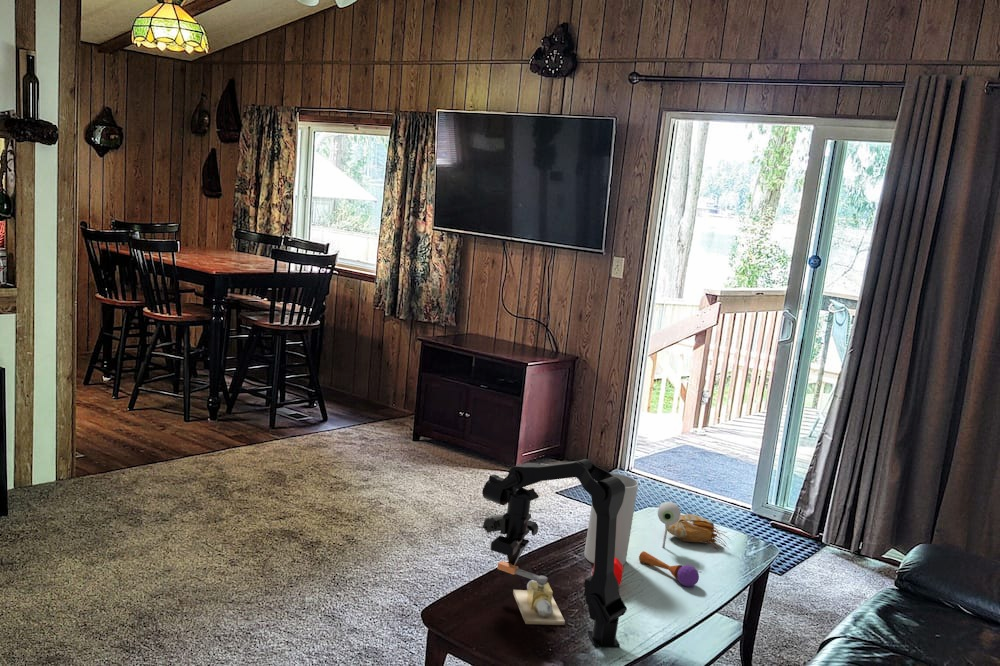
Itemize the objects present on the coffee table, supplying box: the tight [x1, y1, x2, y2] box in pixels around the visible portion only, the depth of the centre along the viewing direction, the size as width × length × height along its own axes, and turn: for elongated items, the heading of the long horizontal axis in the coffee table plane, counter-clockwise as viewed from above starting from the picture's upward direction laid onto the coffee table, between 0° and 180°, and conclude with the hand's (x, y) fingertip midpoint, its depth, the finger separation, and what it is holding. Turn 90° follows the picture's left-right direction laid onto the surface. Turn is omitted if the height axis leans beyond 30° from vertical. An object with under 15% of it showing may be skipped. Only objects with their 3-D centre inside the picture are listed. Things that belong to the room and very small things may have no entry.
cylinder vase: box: [583, 472, 639, 566], centre depth 256 cm, size 12×12×25 cm
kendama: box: [638, 550, 700, 588], centre depth 252 cm, size 6×6×20 cm
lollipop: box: [657, 501, 682, 549], centre depth 272 cm, size 7×7×15 cm
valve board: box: [512, 589, 566, 626], centre depth 221 cm, size 16×10×1 cm, turn 10°
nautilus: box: [664, 513, 731, 551], centre depth 280 cm, size 8×22×15 cm
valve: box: [526, 579, 554, 619], centre depth 221 cm, size 14×5×6 cm, turn 10°
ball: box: [592, 558, 624, 586], centre depth 240 cm, size 8×8×8 cm
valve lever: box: [497, 560, 548, 585], centre depth 223 cm, size 14×3×2 cm, turn 61°
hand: (511, 566), depth 226 cm, fingers closed
